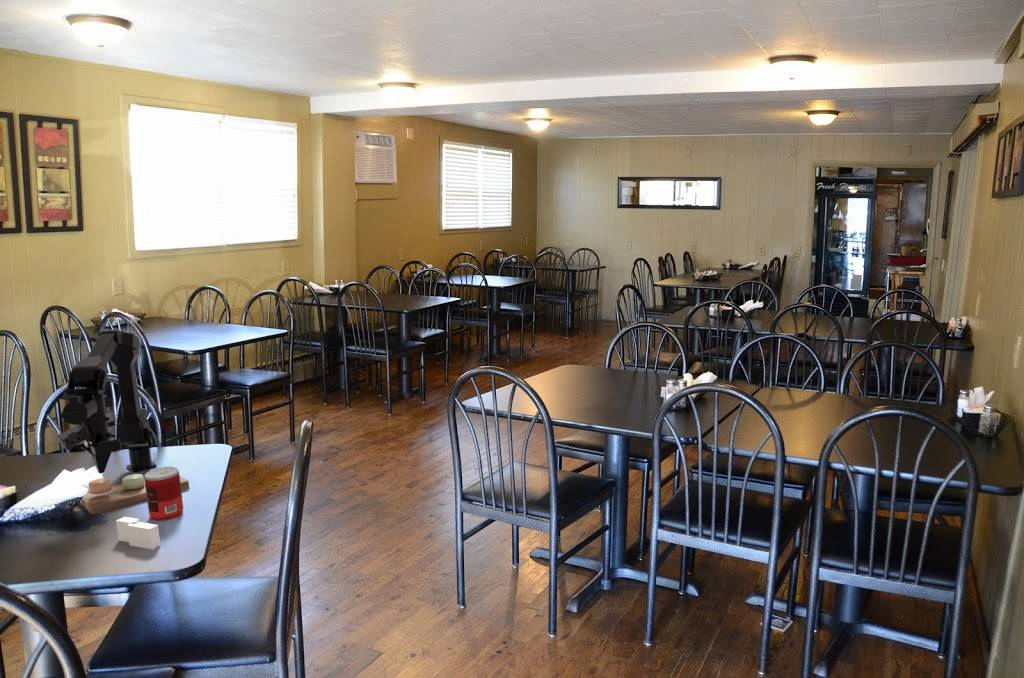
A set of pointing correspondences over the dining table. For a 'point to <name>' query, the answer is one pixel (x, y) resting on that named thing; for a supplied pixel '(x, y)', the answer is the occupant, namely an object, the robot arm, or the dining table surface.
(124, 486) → the button sage
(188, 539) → the dining table surface
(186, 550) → the dining table surface
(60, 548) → the dining table surface
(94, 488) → the button terracotta
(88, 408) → the robot arm
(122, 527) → the white stepped block
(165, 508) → the canned food
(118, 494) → the panel
